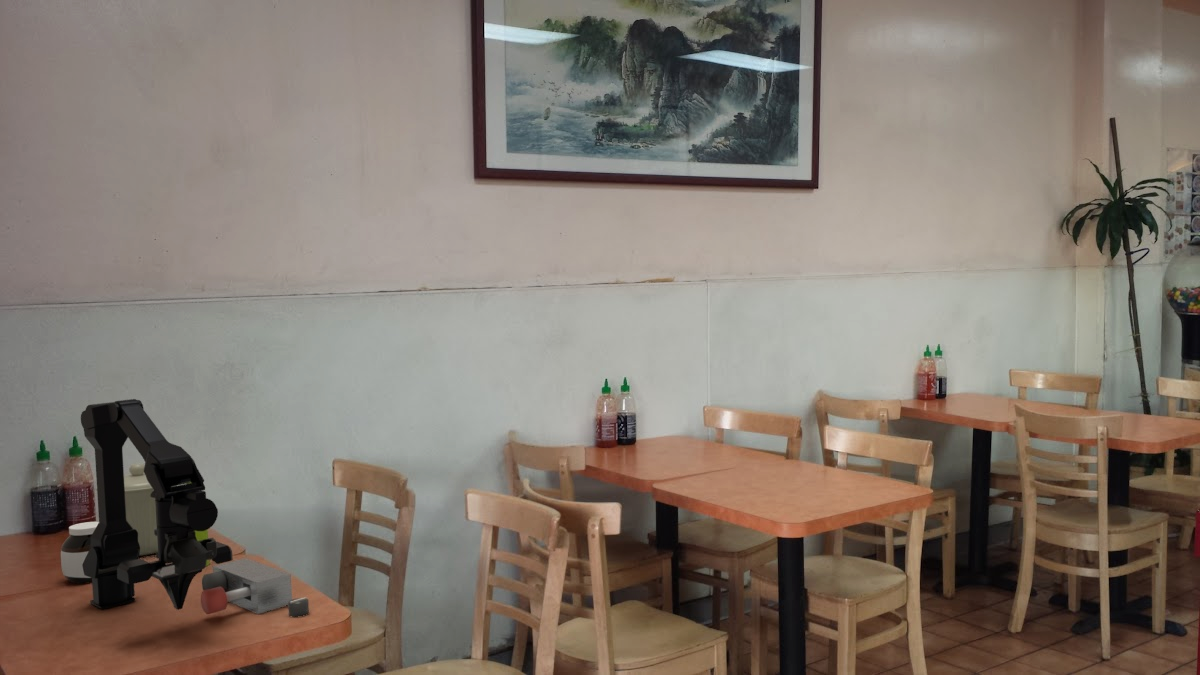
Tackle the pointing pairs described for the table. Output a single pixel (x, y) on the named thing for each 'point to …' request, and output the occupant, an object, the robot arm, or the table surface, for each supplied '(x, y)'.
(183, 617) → the table surface
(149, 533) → the canister
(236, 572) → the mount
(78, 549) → the spread jar
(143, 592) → the table surface
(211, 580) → the black knob
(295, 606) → the dial
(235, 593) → the red knob
